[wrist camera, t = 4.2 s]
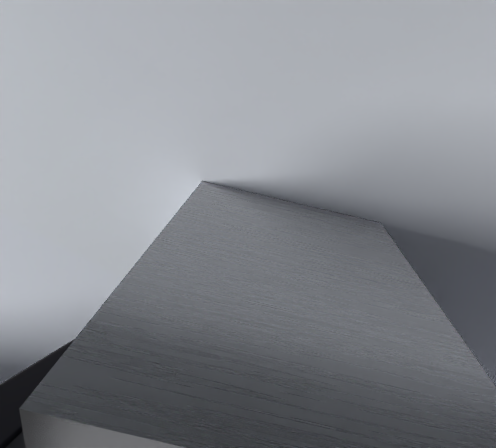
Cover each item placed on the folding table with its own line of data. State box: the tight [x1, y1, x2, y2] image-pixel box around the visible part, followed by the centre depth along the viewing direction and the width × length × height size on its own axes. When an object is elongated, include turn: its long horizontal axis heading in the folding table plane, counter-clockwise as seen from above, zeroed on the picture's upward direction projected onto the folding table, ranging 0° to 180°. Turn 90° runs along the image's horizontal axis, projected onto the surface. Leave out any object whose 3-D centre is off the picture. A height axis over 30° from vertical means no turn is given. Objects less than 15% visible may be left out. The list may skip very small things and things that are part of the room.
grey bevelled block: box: [19, 181, 496, 448], centre depth 7 cm, size 8×4×6 cm, turn 168°
